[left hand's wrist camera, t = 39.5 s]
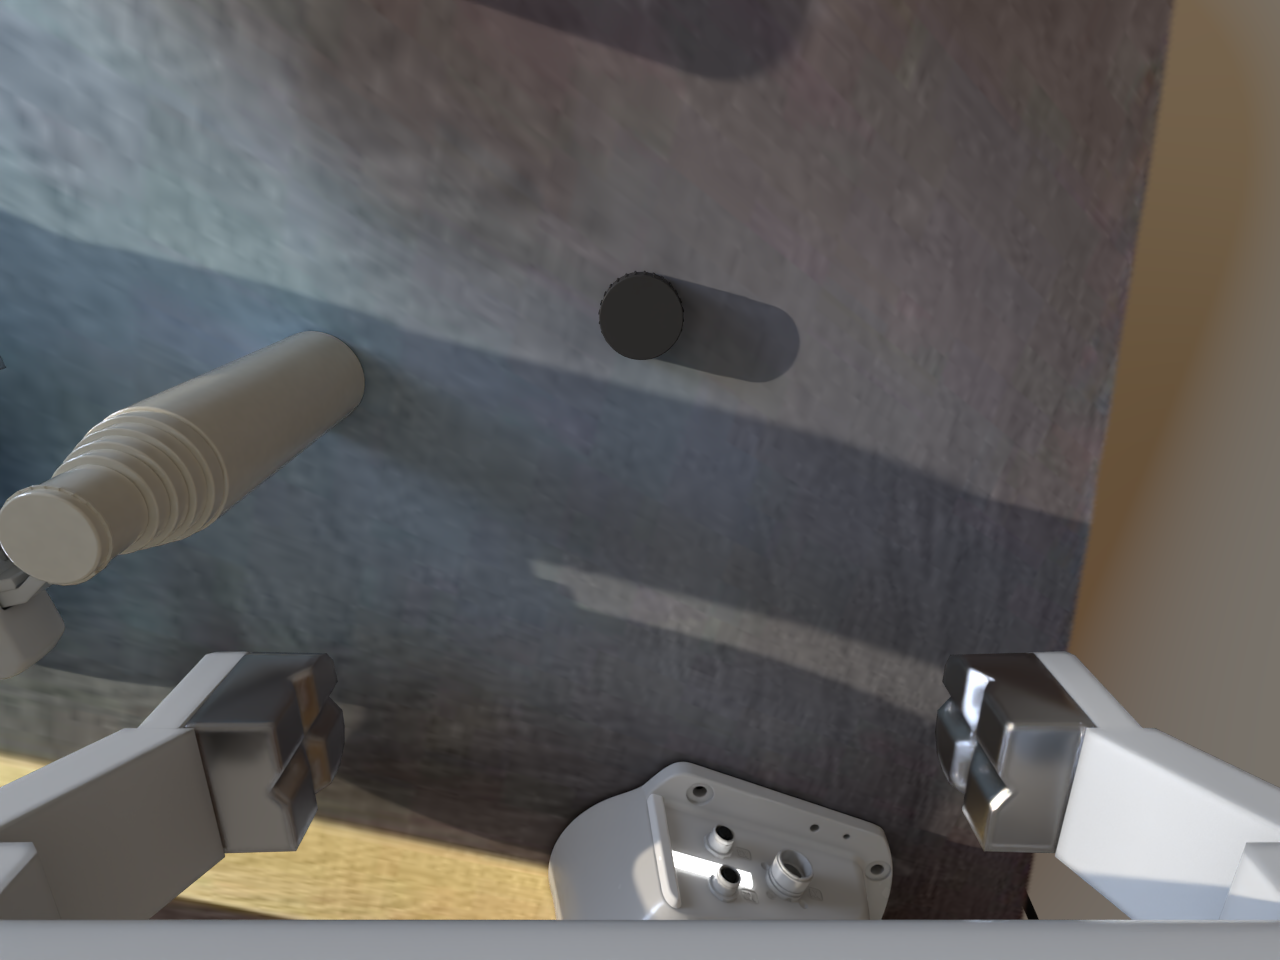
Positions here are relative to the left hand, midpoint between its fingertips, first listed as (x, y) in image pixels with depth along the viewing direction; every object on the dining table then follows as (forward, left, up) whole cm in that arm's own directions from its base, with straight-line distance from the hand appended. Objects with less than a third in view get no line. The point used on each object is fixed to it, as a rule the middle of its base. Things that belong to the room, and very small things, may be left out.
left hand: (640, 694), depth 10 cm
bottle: (+16, +6, -31) cm, 35 cm away
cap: (0, 0, -29) cm, 29 cm away
